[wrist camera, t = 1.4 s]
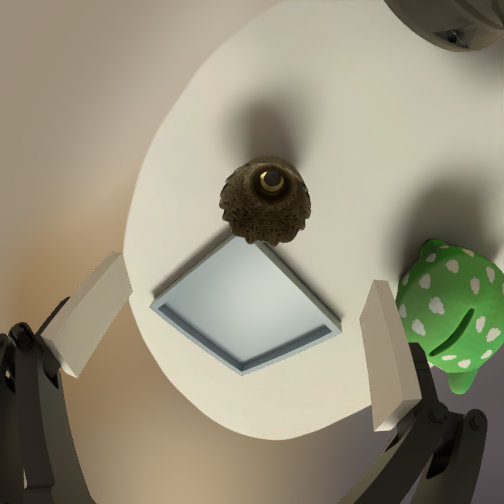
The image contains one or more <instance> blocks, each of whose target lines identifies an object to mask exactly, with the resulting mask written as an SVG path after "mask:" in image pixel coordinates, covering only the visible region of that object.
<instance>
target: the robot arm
mask: <svg viewBox="0 0 504 504" xmlns="http://www.w3.org/2000/svg"><path fill="white" fill-rule="evenodd" d="M385 2H386V3H387V5H388V6H389V7H390V9H391V10H392V11H393V12H394V14H395V15H396V16H397V17H398V18H399V19H400V20H401V21H402V22H403V23H404V24H405V25H406V26H407V27H409V28H410V29H411V30H412V31H414V32H415V33H416V34H418V35H419V36H420V37H422V38H423V39H425V40H427V41H428V42H430V43H432V44H434V45H436V46H438V47H441V48H443V49H446V50H450V51H455V52H470V51H478V50H481V49H484V48H486V47H488V46H489V45H490V44H492V43H493V42H494V41H495V40H496V39H497V38H498V37H500V36H501V35H502V34H503V33H504V0H385ZM132 292H133V291H132V287H131V284H130V280H129V277H128V273H127V269H126V265H125V261H124V257H123V253H120V252H110V253H109V255H108V256H107V257H106V258H105V259H104V260H103V261H102V262H101V263H100V264H99V265H98V266H97V268H96V269H95V270H94V271H93V272H92V273H91V274H90V275H89V277H88V278H87V279H86V280H85V281H84V282H83V283H82V284H81V286H80V287H79V288H78V289H77V290H76V291H75V292H74V294H73V295H72V296H71V297H67V298H66V299H64V300H63V301H61V302H60V304H59V305H58V306H57V307H56V308H55V310H54V311H53V312H52V313H51V316H49V317H48V318H47V320H46V321H45V322H44V323H43V325H42V326H41V327H40V328H39V330H38V331H37V333H36V334H35V335H34V333H33V332H32V330H31V328H30V327H29V325H28V324H27V323H25V322H21V323H17V324H16V325H14V326H13V327H12V328H11V329H10V331H9V334H8V336H9V338H10V339H11V341H10V339H9V338H8V336H7V335H6V334H4V333H2V334H0V504H96V503H95V502H94V500H93V499H92V498H91V496H90V493H89V491H88V488H87V485H86V482H85V479H84V476H83V473H82V470H81V467H80V464H79V461H78V457H77V454H76V450H75V447H74V443H73V439H72V435H71V430H70V426H69V421H68V416H67V412H66V406H65V400H64V394H63V387H62V379H61V374H60V371H59V368H60V367H61V366H62V368H63V369H64V371H65V372H66V373H67V374H69V375H71V376H74V377H76V378H78V376H79V375H80V373H81V371H82V369H83V368H84V366H85V364H86V363H87V361H88V359H89V357H90V356H91V355H92V353H93V351H94V350H95V348H96V347H97V345H98V343H99V342H100V340H101V338H102V337H103V335H104V334H105V332H106V331H107V329H108V328H109V326H110V325H111V323H112V321H113V320H114V318H115V317H116V315H117V314H118V312H119V311H120V309H121V308H122V307H123V305H124V304H125V302H126V301H127V299H128V298H129V296H130V295H131V293H132ZM359 320H360V325H361V331H362V337H363V343H364V349H365V356H366V362H367V369H368V377H369V385H370V393H371V403H372V412H373V424H374V431H385V430H391V429H392V428H393V427H394V426H395V425H396V424H397V433H395V434H394V435H393V436H392V437H391V438H390V439H389V440H388V442H389V444H388V445H387V446H386V447H385V449H384V450H383V451H382V453H381V454H380V455H379V457H378V458H377V459H376V460H375V462H374V463H373V464H372V465H371V466H370V468H369V469H368V470H367V471H366V472H365V474H364V475H363V476H362V477H361V478H360V479H359V481H358V482H357V483H356V484H355V485H354V486H353V487H352V488H351V489H350V490H349V492H348V493H347V494H346V495H345V496H344V497H343V498H342V499H341V500H340V501H339V502H338V503H337V504H400V502H401V501H402V500H403V498H404V497H405V496H406V494H407V493H408V491H409V490H410V489H411V487H412V485H413V484H414V483H415V481H416V480H417V478H418V477H419V475H420V473H421V472H422V470H423V469H424V470H423V473H422V476H421V478H420V481H419V483H418V486H417V488H416V491H415V493H414V495H413V498H412V500H411V502H410V504H470V503H471V500H472V496H473V493H474V490H475V486H476V482H477V479H478V475H479V470H480V466H481V461H482V456H483V451H484V446H485V440H486V433H487V426H488V425H487V418H486V416H485V414H484V413H483V412H482V411H480V410H479V409H472V410H470V411H469V412H468V413H467V414H466V415H464V414H458V413H453V412H450V411H448V409H447V407H446V406H445V405H444V404H443V403H441V402H439V400H438V397H437V393H436V389H435V385H434V382H433V378H432V374H431V371H430V367H429V364H428V363H427V361H428V360H427V357H426V354H425V351H424V350H423V348H422V347H421V346H420V344H419V343H418V342H408V341H407V338H406V334H405V331H404V328H403V324H402V321H401V318H400V315H399V312H398V309H397V306H396V303H395V300H394V297H393V295H392V292H391V289H390V286H389V283H388V281H383V280H373V283H372V286H371V289H370V292H369V295H368V298H367V301H366V303H365V306H364V309H363V312H362V314H361V317H360V319H359ZM6 371H8V372H9V374H10V376H9V378H8V377H7V376H6ZM23 466H24V469H23ZM24 471H25V476H26V480H27V487H26V488H25V489H24Z"/></svg>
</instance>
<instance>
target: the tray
mask: <svg viewBox="0 0 504 504" xmlns="http://www.w3.org/2000/svg"><path fill="white" fill-rule="evenodd" d="M254 242H255V241H254ZM150 308H151V309H152V310H153V311H154V312H156V313H157V314H158V315H159V316H160V317H162V318H163V319H164V320H165V321H167V322H168V323H169V324H170V325H172V326H173V327H174V328H176V329H177V330H178V331H179V332H181V333H182V334H183V335H185V336H186V337H187V338H188V339H190V340H191V341H192V342H194V343H195V344H196V345H198V346H199V347H201V348H202V349H203V350H205V351H206V352H207V353H209V354H210V355H212V356H213V357H214V358H216V359H217V360H219V361H220V362H222V363H223V364H224V365H226V366H227V367H229V368H230V369H232V370H233V371H235V372H236V373H238V374H239V375H241V376H243V375H246V374H248V373H251V372H254V371H256V370H259V369H261V368H264V367H266V366H269V365H271V364H274V363H276V362H279V361H281V360H284V359H286V358H288V357H291V356H293V355H295V354H297V353H300V352H302V351H304V350H306V349H309V348H311V347H313V346H315V345H317V344H319V343H322V342H324V341H326V340H328V339H330V338H332V337H334V336H336V335H338V334H340V333H342V326H341V322H340V321H339V320H338V319H337V318H336V316H335V315H334V314H333V313H332V312H331V311H330V310H329V309H328V308H327V307H326V306H325V305H324V304H323V303H322V302H321V301H320V300H319V299H318V298H317V297H316V296H315V295H314V294H313V292H312V291H311V290H310V289H309V288H308V287H307V286H306V285H305V284H304V283H303V282H302V281H301V280H300V279H299V278H298V277H297V276H296V275H295V274H294V273H293V272H292V271H291V270H290V269H289V268H288V267H287V266H286V265H285V264H284V263H283V262H282V261H281V260H280V258H279V257H278V256H277V255H276V254H275V253H274V252H273V251H272V250H271V249H270V248H269V247H268V246H267V245H266V244H265V243H264V242H261V241H260V240H257V241H256V242H255V243H254V244H248V243H247V242H246V241H245V238H241V237H237V236H234V235H233V234H232V235H230V236H229V237H228V238H227V239H226V240H224V241H223V242H222V243H221V244H219V245H218V246H217V247H216V248H214V249H213V250H212V251H211V252H210V253H208V254H207V255H206V256H205V257H204V258H202V259H201V260H200V261H199V262H197V263H196V264H195V265H194V266H193V267H191V268H190V269H189V270H188V271H187V272H185V273H184V274H183V275H182V276H181V277H179V278H178V279H177V280H176V281H175V282H174V283H172V284H171V285H170V286H169V287H168V288H166V289H165V290H164V291H163V292H162V293H160V294H159V295H158V296H157V297H156V298H155V299H154V300H153V302H152V303H151V305H150Z"/></svg>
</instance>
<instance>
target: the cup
mask: <svg viewBox="0 0 504 504" xmlns="http://www.w3.org/2000/svg"><path fill="white" fill-rule="evenodd" d="M270 171H274V172H277V173H278V174H279V176H280V182H279V183H278V184H277V185H275V186H270V185H268V184H267V183H266V182H265V175H266V174H267V173H268V172H270ZM225 183H226V185H225V186H224V187H223V190H222V191H221V194H220V197H221V199H220V203H219V207H220V208H221V209H225V210H224V214H223V216H222V219H223V220H224V221H228V222H229V226H230V230H231V232H232V234H233V235H234V236H237V237H241V238H245V241H246V242H247V243H248V244H254V243H255V242H256V241H257V240H260V241H261V242H264V241H268V242H269V245H270V246H273V247H274V246H276V245H278V243H279V242H281V243H287V242H291V241H292V240H293V239H294V238H295V236H296V235H297V233H298V231H300V230H299V229H301V230H304V228H305V219H309V217H310V213H311V209H310V208H311V202H310V196H309V194H308V189H307V187H306V185H305V183H304V181H303V179H302V177H301V175H300V174H299V172H298V171H297V170H296V169H295V168H294V167H293V166H292V165H291V164H290V163H288V162H287V161H285V160H283V159H280V158H277V157H260V158H257V159H254V160H252V161H250V162H248V163H246V164H244V165H243V166H242V167H239V168H238V169H236V170H235V171H234V173H233V174H232V175H231V176H229V177H228V178H227V179H226V181H225ZM254 241H255V242H254Z"/></svg>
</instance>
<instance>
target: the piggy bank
mask: <svg viewBox="0 0 504 504" xmlns="http://www.w3.org/2000/svg"><path fill="white" fill-rule="evenodd" d="M395 303H396V306H397V309H398V312H399V315H400V318H401V321H402V324H403V328H404V331H405V334H406V338H407V341H408V342H418V343H419V344H420V346H421V347H422V348H423V350H424V351H425V354H426V357H427V360H428V361H429V362H430V363H432V364H434V365H435V366H437V367H439V368H441V369H442V370H444V371H445V372H447V375H448V381H449V385H450V388H451V390H452V391H453V392H454V393H456V394H462V393H465V392H466V391H467V390H468V388H469V387H470V385H471V383H472V381H473V379H474V377H475V375H476V373H477V371H478V368H479V367H480V366H481V365H482V364H483V363H484V362H485V361H486V360H488V359H489V358H490V357H491V356H492V355H493V354H494V353H495V352H496V351H497V350H498V349H499V347H500V346H501V345H502V344H503V343H504V274H503V273H502V271H501V270H500V269H499V268H498V267H497V266H496V265H495V264H494V263H492V262H491V261H489V260H488V259H487V258H485V257H484V256H482V255H480V254H478V253H476V252H474V251H471V250H469V249H466V248H463V247H458V246H451V245H447V244H446V243H444V242H443V241H440V240H436V239H433V240H432V239H431V240H428V241H426V242H425V243H424V244H423V246H422V247H421V250H420V252H419V259H418V260H417V261H416V262H415V263H414V264H413V265H412V266H411V268H410V269H409V270H408V272H407V273H406V274H405V275H403V276H402V278H401V280H400V282H399V284H398V292H397V296H396V301H395Z"/></svg>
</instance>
